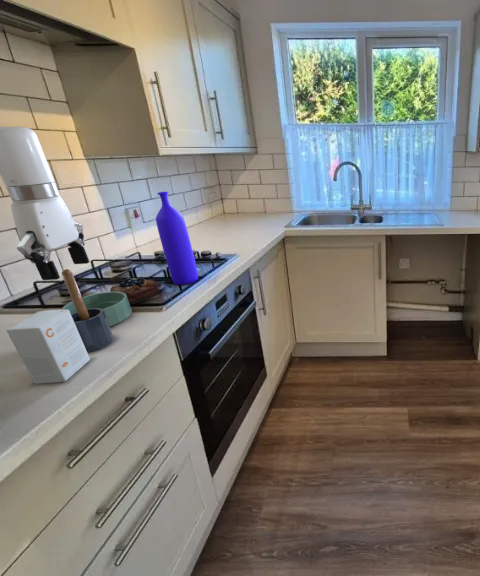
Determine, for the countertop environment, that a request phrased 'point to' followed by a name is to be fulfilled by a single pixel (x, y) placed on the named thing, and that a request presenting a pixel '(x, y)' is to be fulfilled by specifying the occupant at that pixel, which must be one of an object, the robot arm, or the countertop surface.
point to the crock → (94, 330)
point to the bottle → (176, 243)
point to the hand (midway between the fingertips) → (67, 270)
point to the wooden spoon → (75, 294)
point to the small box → (49, 346)
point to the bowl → (106, 305)
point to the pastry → (136, 289)
